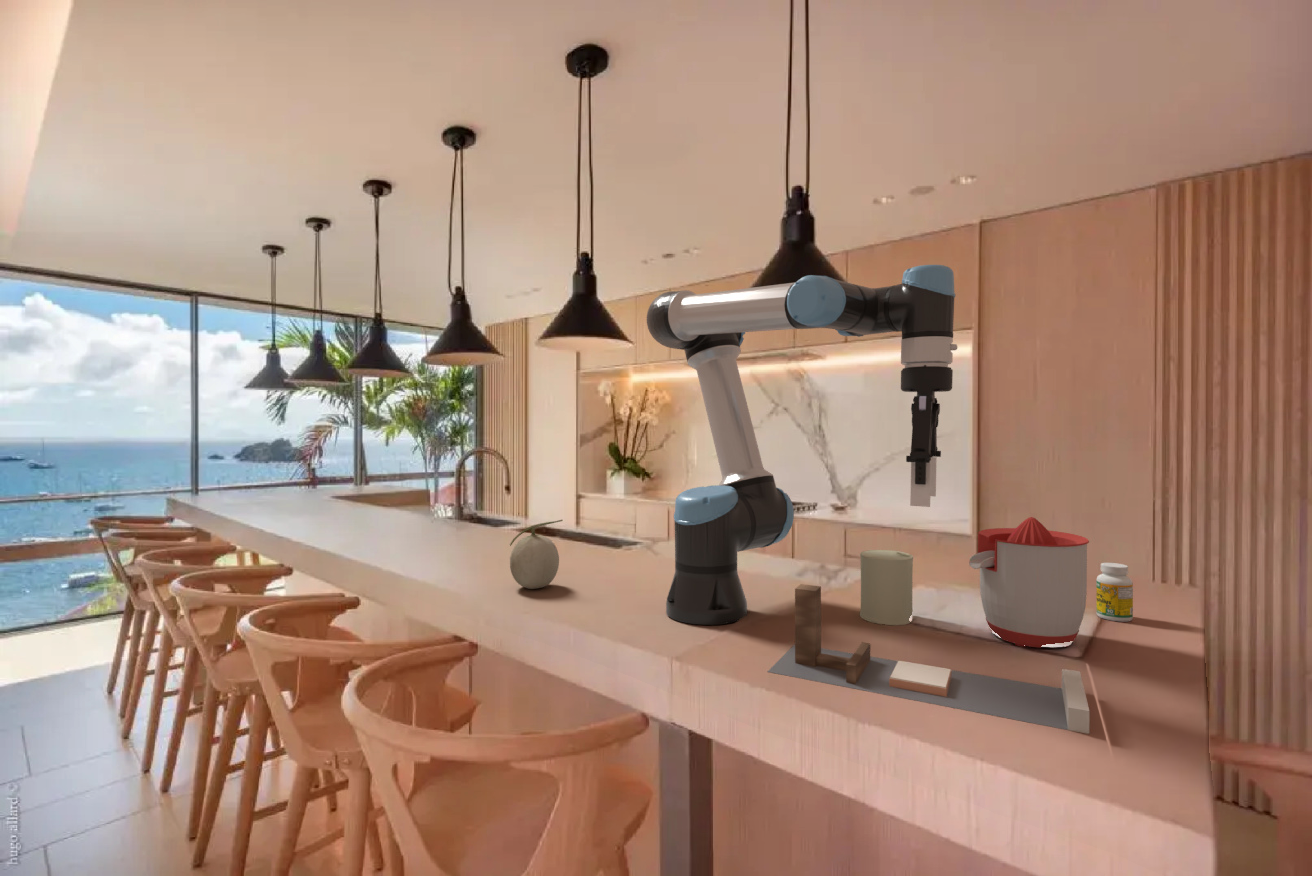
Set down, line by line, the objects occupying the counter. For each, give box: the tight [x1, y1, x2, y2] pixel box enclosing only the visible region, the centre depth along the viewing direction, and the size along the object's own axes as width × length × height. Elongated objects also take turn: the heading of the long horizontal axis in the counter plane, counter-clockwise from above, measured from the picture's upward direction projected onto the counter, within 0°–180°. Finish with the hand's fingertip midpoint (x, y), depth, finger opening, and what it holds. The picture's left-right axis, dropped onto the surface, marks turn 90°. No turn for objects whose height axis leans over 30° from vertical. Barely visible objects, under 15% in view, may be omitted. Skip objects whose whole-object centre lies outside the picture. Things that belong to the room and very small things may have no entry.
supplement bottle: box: [1095, 562, 1134, 623], centre depth 116 cm, size 5×5×10 cm
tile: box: [889, 660, 953, 697], centre depth 87 cm, size 7×7×1 cm
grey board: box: [767, 643, 1090, 735], centre depth 87 cm, size 38×13×3 cm, turn 60°
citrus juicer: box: [968, 516, 1090, 649], centre depth 105 cm, size 16×17×20 cm
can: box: [859, 549, 914, 626], centre depth 117 cm, size 9×9×12 cm
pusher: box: [794, 583, 871, 684], centre depth 93 cm, size 9×10×11 cm
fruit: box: [509, 519, 563, 590], centre depth 140 cm, size 10×12×15 cm
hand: (923, 500), depth 102 cm, fingers open, 13 cm apart
